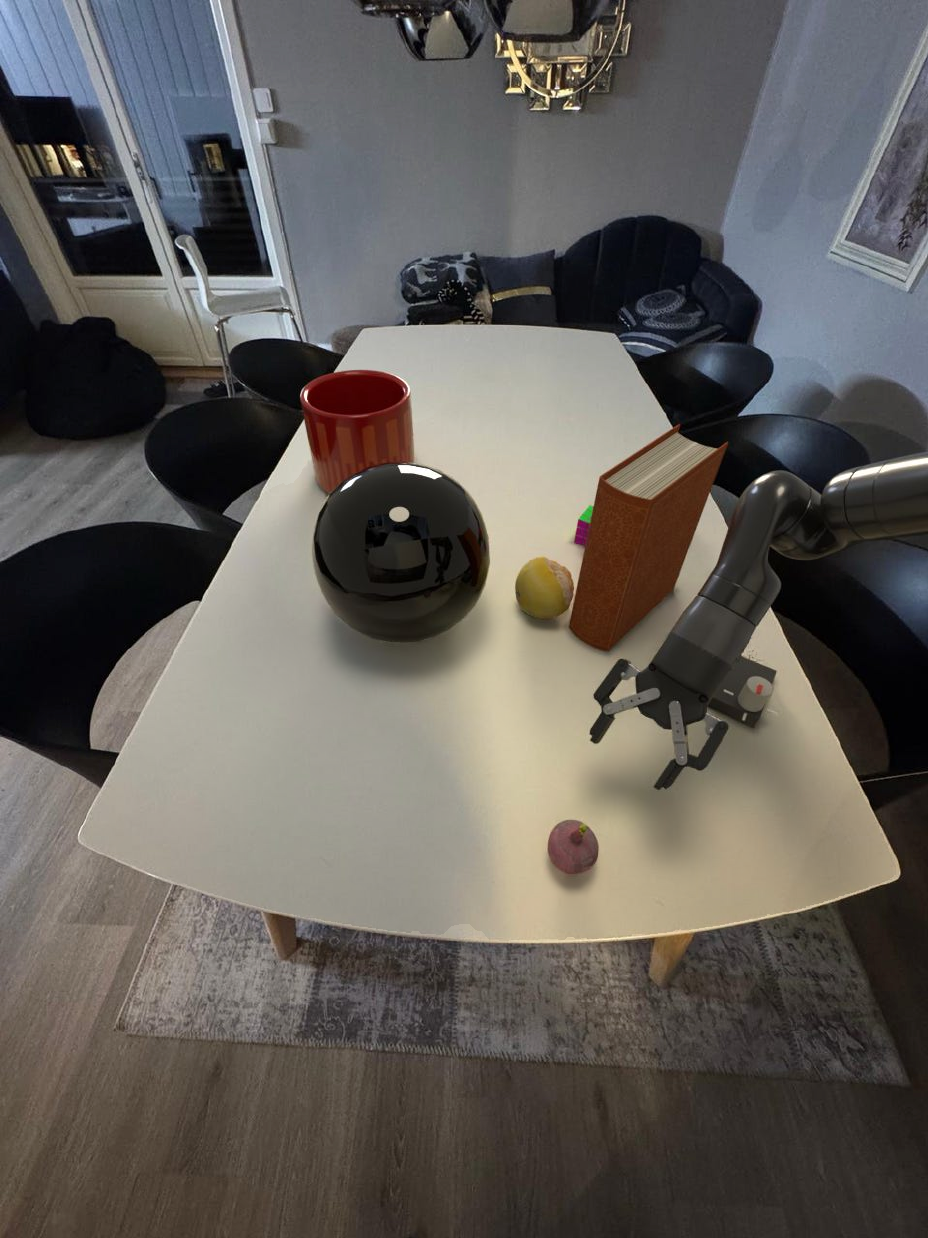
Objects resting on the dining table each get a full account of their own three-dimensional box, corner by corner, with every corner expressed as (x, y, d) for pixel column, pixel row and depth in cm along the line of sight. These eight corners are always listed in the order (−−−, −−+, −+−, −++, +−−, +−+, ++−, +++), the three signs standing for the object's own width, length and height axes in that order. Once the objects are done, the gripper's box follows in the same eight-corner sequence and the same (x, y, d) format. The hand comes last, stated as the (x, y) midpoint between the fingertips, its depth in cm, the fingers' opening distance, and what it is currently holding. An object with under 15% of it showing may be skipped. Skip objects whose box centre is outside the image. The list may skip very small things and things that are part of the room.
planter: (322, 452, 140) (307, 369, 126) (415, 450, 141) (411, 368, 127) (310, 505, 124) (291, 417, 110) (415, 503, 125) (410, 415, 111)
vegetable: (565, 895, 68) (578, 862, 61) (533, 852, 72) (542, 816, 64) (602, 867, 70) (619, 832, 63) (569, 826, 74) (582, 789, 67)
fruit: (539, 638, 97) (546, 595, 90) (501, 602, 103) (504, 560, 96) (582, 614, 102) (592, 572, 94) (543, 581, 108) (549, 539, 101)
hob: (783, 685, 91) (790, 675, 89) (763, 742, 83) (771, 732, 81) (674, 639, 98) (678, 628, 96) (647, 688, 90) (651, 677, 88)
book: (635, 569, 110) (679, 423, 89) (673, 589, 106) (728, 442, 85) (564, 630, 99) (594, 479, 77) (604, 655, 95) (647, 503, 73)
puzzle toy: (610, 536, 118) (616, 513, 114) (600, 551, 114) (605, 528, 110) (584, 528, 120) (589, 504, 116) (573, 542, 116) (578, 518, 112)
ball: (320, 577, 108) (289, 441, 88) (462, 554, 113) (464, 421, 93) (336, 692, 89) (302, 552, 69) (506, 658, 94) (520, 518, 74)
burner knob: (740, 689, 87) (750, 671, 84) (764, 698, 86) (776, 681, 83) (735, 705, 85) (745, 688, 82) (760, 716, 84) (771, 698, 80)
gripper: (640, 609, 63) (564, 729, 66) (764, 679, 57) (675, 810, 59) (653, 618, 70) (583, 727, 72) (765, 682, 63) (685, 800, 65)
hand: (624, 764), depth 66 cm, fingers open, 8 cm apart
